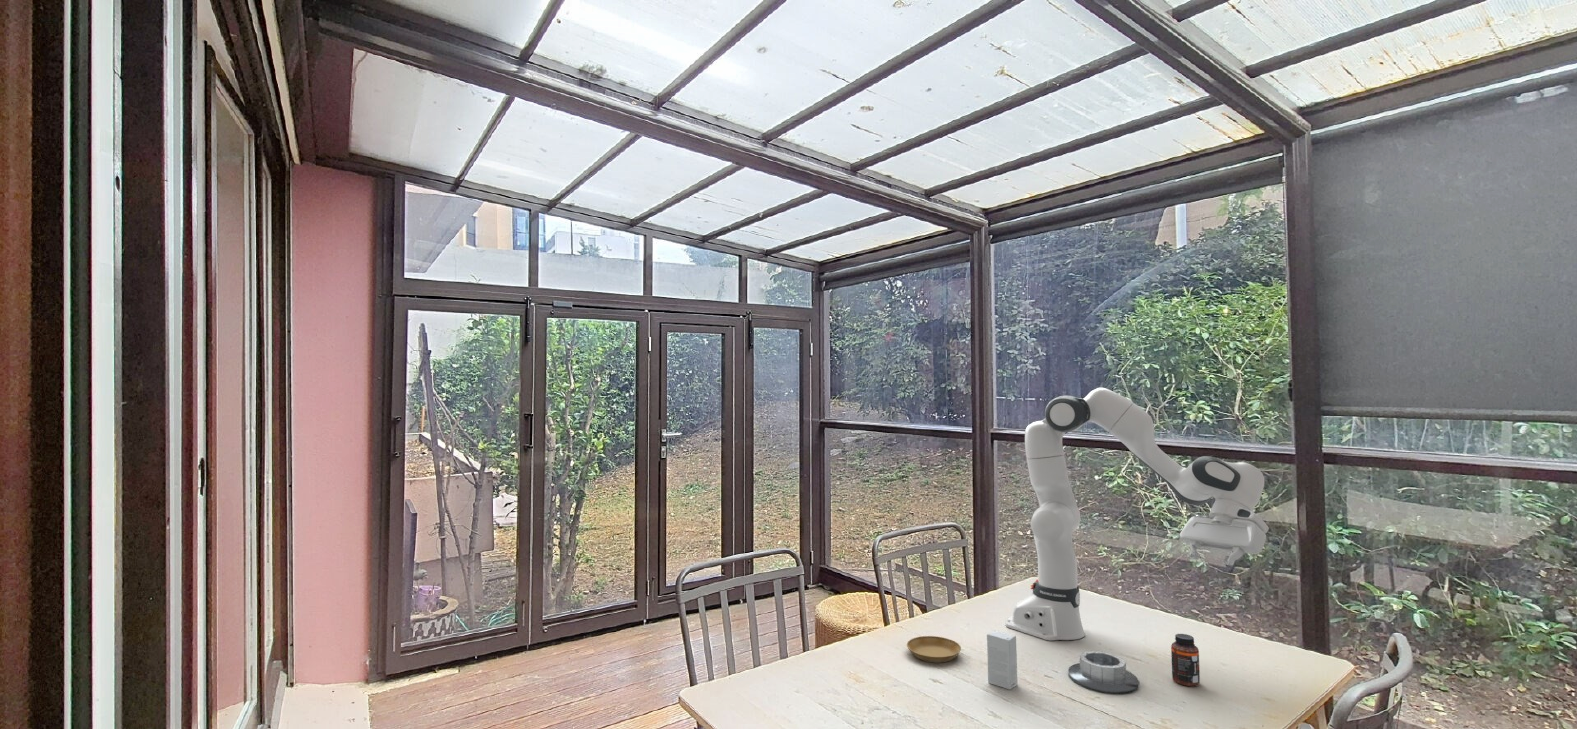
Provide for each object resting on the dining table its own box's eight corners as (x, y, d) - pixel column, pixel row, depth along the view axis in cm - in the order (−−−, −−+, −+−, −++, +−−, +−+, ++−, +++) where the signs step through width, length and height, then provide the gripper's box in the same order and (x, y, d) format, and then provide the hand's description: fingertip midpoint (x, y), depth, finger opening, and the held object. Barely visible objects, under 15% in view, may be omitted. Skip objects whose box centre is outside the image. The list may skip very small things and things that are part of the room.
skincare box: (1017, 684, 161) (1017, 635, 162) (1010, 690, 158) (1009, 640, 159) (994, 677, 165) (994, 629, 166) (987, 683, 162) (986, 634, 163)
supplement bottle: (1204, 688, 159) (1202, 641, 159) (1177, 686, 160) (1176, 639, 160) (1194, 678, 165) (1192, 632, 165) (1168, 676, 166) (1167, 631, 166)
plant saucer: (940, 671, 170) (940, 661, 170) (896, 654, 181) (895, 645, 181) (971, 656, 180) (971, 646, 180) (928, 641, 191) (928, 632, 191)
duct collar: (1059, 680, 163) (1058, 660, 164) (1080, 661, 175) (1079, 642, 175) (1128, 700, 153) (1128, 679, 153) (1146, 678, 165) (1145, 658, 165)
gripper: (1186, 507, 182) (1166, 548, 178) (1261, 513, 164) (1241, 559, 159) (1199, 520, 184) (1180, 561, 179) (1275, 529, 165) (1256, 575, 160)
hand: (1209, 561), depth 169 cm, fingers open, 8 cm apart
